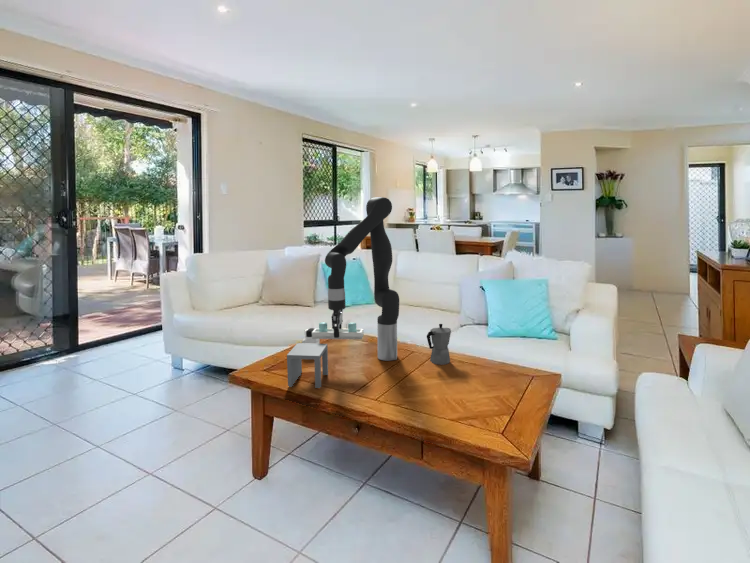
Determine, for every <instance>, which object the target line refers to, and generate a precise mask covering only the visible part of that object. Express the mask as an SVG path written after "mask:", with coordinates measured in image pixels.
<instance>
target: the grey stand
mask: <svg viewBox="0 0 750 563" xmlns="http://www.w3.org/2000/svg"><path fill="white" fill-rule="evenodd" d="M328 353H329V352H328V343H320V344H318V343H302V342H296V344H295V345H294V346H293V348H292V349H291V350H289V352H287V355H286V361H287V362H286V363H287V364H286V366H287V367H286V368H287V370H286V371H287V387H288V386H289V387H292V386H293V387H294V385H295V384H294V383H296V382H297V381H296V380H297V379H299V378H300V377H301V375H302V374H303V369H302V368H303V364H302V362H303V361H302V360H314V389H315V388H320V387H321V388H322V376H323V375H327V376H328V375H329V357H328V356H329V354H328ZM321 362H322V364H321ZM321 365H322V366H321ZM321 367H322V368H321ZM301 373H302V374H301ZM299 376H300V377H299ZM298 377H299V378H298ZM295 381H296V382H295ZM293 384H294V385H293ZM293 387H292V388H293ZM321 388H320V389H321Z"/></svg>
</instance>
